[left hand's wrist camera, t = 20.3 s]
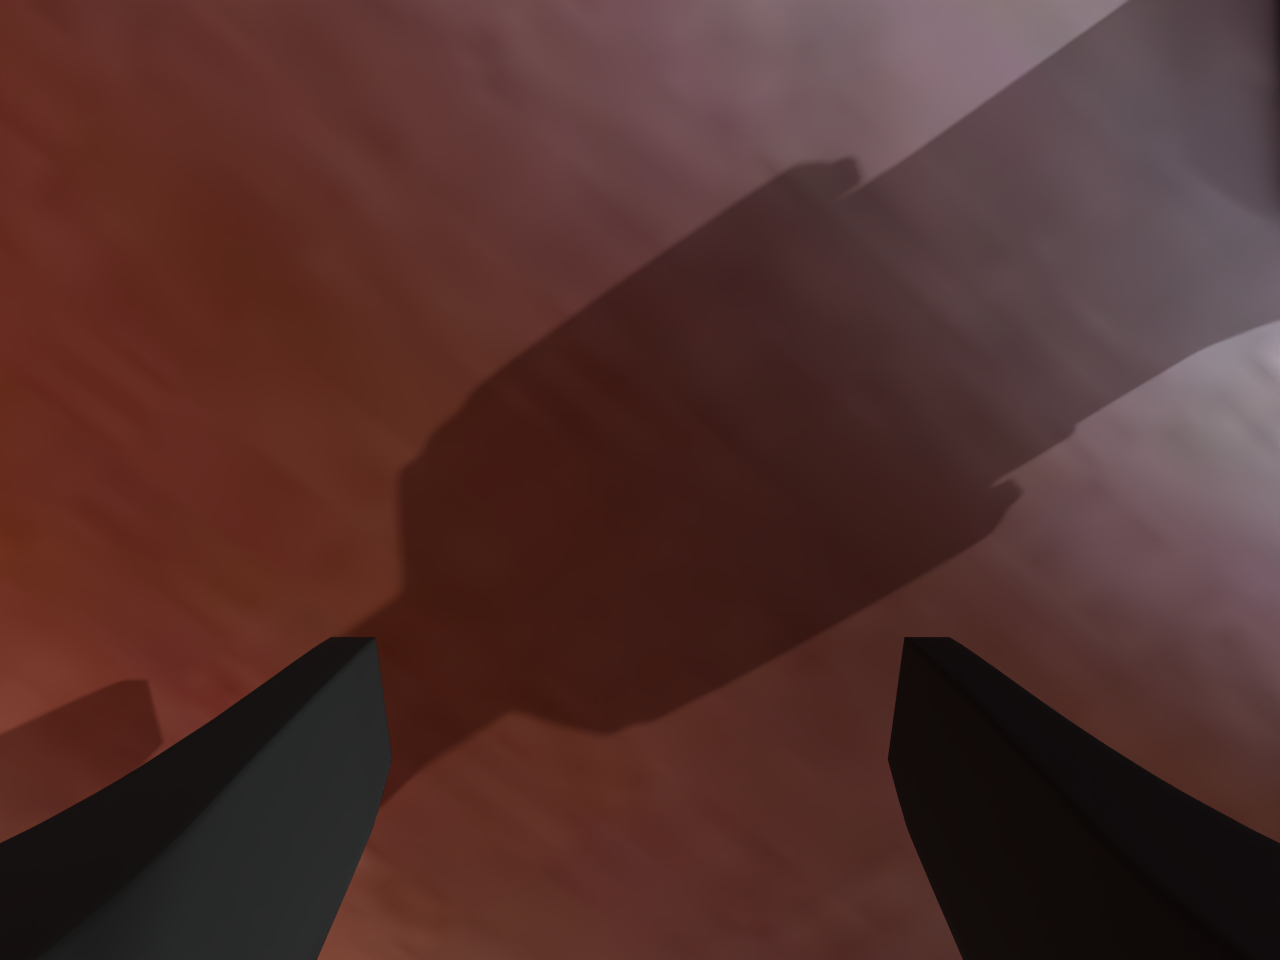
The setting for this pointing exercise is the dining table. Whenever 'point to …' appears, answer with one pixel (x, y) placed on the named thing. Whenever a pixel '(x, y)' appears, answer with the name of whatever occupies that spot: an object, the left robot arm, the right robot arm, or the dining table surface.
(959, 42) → the dining table surface
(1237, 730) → the dining table surface
